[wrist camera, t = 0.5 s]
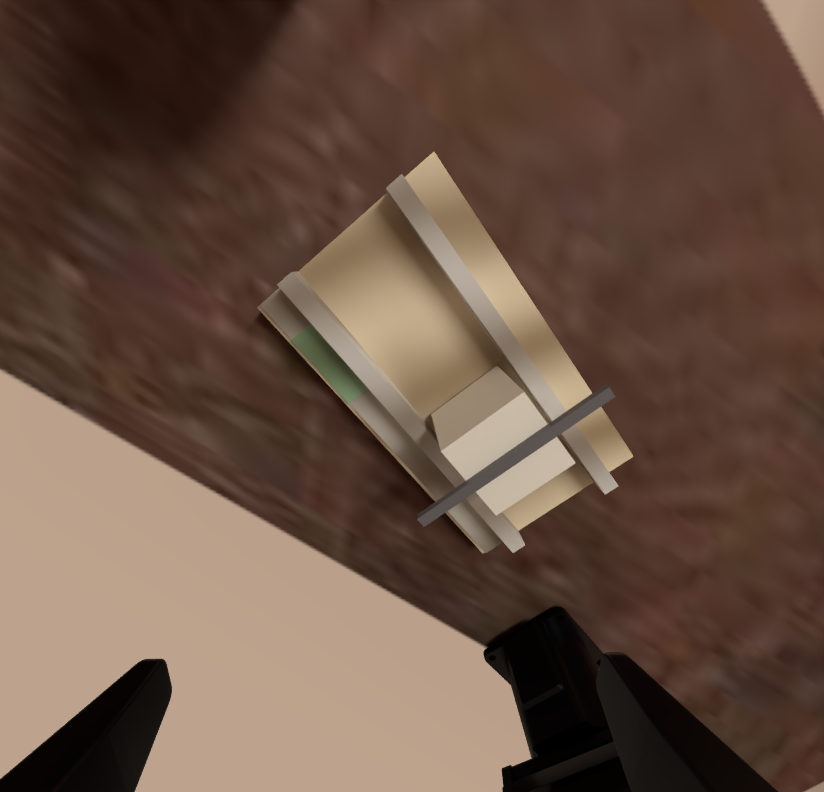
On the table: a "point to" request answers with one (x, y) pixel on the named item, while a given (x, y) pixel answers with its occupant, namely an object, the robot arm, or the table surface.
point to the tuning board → (436, 342)
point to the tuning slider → (502, 442)
